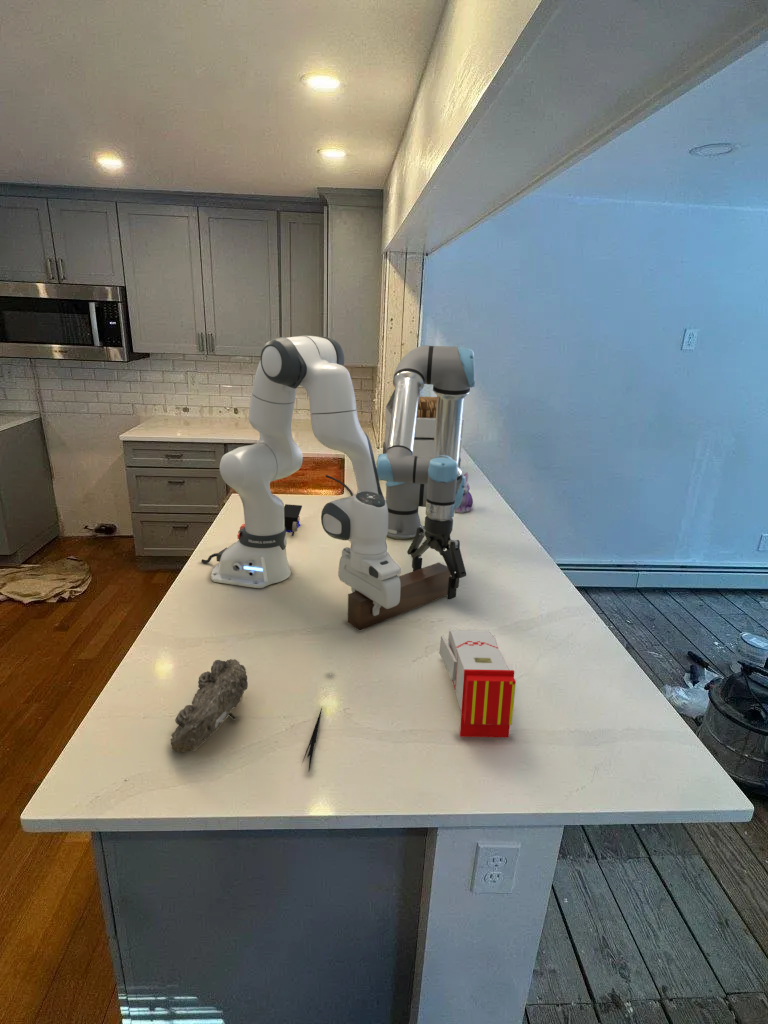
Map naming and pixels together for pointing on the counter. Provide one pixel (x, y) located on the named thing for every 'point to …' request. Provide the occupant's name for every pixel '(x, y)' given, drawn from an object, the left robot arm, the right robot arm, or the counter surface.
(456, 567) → the right robot arm
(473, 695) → the toy
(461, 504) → the figurine
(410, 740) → the counter surface
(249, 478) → the left robot arm
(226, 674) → the fossil
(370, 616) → the walnut beam
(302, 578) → the counter surface
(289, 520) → the figurine character
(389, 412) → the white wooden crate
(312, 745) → the feather
